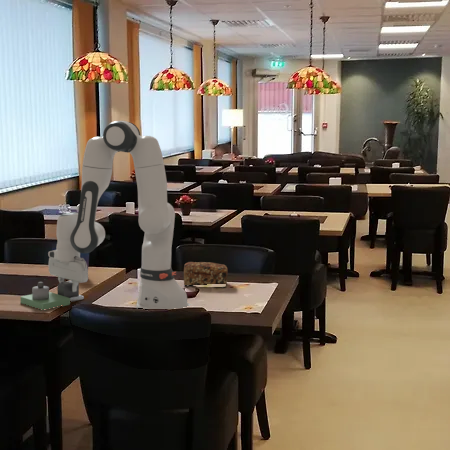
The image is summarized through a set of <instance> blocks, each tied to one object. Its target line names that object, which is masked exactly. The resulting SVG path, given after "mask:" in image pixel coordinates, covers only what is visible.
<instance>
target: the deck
mask: <svg viewBox="0 0 450 450" xmlns="http://www.w3.org/2000/svg"><path fill="white" fill-rule="evenodd" d="M31 291H32V292H31V294H27V295H26V294H25V295H21V296H20V304H22V305H25V304H26V305H25V306H28V305H29V306H28V307H31V306H32V308H33V307H35V308H34V309H36V308H39V309H42V310H44V309H49V308H53V307H57V306H61V305H63V306H62V307H65V306H70V305H71V302H70V298H68V297H65V296H61V295H58V293H54V292H51V291H50V286H47V285H44V282H43V281H38V282H37V286H33V287H32V290H31ZM57 308H58V307H57ZM39 309H38V310H39ZM53 309H54V308H53ZM42 310H41V311H42ZM49 310H50V309H49ZM44 311H45V310H44Z"/></svg>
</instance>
